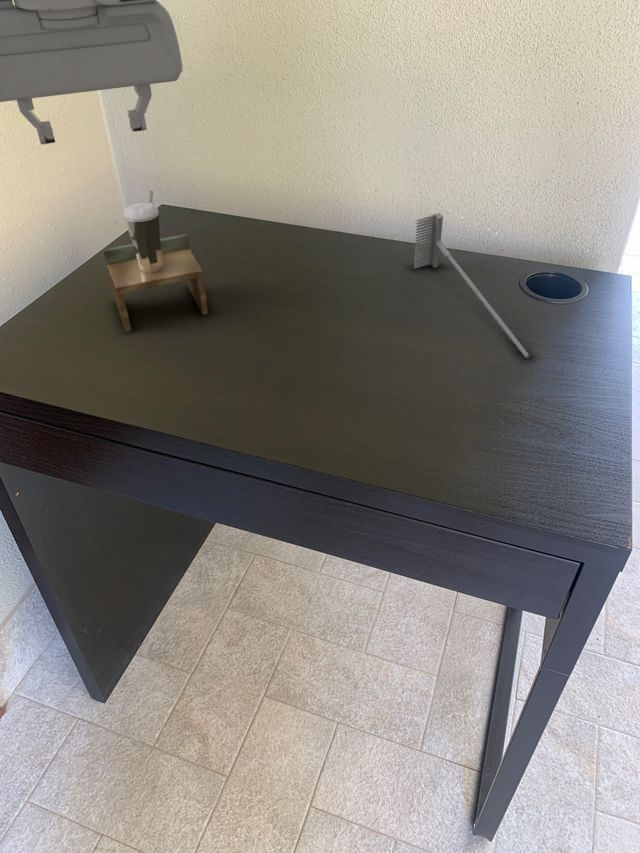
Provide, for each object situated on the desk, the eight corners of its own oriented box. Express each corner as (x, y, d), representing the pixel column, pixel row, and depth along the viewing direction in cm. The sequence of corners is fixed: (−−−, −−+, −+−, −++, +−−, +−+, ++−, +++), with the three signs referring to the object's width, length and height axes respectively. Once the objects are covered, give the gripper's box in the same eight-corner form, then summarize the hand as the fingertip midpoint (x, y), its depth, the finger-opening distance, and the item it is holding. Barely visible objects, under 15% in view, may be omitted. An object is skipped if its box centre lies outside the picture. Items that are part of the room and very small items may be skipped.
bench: (125, 331, 96) (112, 274, 90) (116, 304, 102) (102, 249, 96) (208, 313, 100) (200, 257, 94) (194, 288, 105) (186, 233, 99)
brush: (499, 388, 93) (510, 339, 86) (413, 268, 109) (416, 218, 102) (524, 379, 94) (537, 331, 87) (435, 261, 110) (439, 212, 103)
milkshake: (177, 261, 97) (166, 192, 91) (155, 278, 94) (142, 208, 87) (151, 255, 99) (137, 187, 92) (128, 271, 95) (113, 202, 89)
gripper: (-63, -5, 58) (-9, 160, 67) (174, -23, 63) (194, 131, 73) (-63, -16, 62) (-12, 140, 71) (160, -32, 68) (180, 114, 77)
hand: (94, 135), depth 72 cm, fingers open, 8 cm apart
